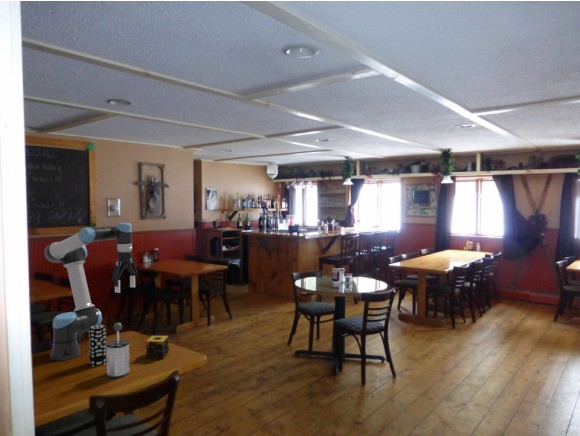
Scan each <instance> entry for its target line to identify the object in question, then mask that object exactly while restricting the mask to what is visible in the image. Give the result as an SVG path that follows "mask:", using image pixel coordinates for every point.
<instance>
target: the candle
mask: <svg viewBox="0 0 580 436" xmlns="http://www.w3.org/2000/svg"><path fill="white" fill-rule="evenodd" d="M145 344H146V346H145V348H146V349H145V350H146V351H145V359H147V360H151V358H152V359H153V360H155V359H156V360H158V359H157V358H162V359H161V360H163V358H164V357H165V356H167V355H168V354H169V353H168V352H169V350H170V348H169V346H170V345H169V335H150V337H149V338H148V339H147V340H146V341H145ZM167 353H168V354H167ZM166 354H167V355H166ZM165 358H166V357H165ZM165 358H164V359H165Z"/></svg>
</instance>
